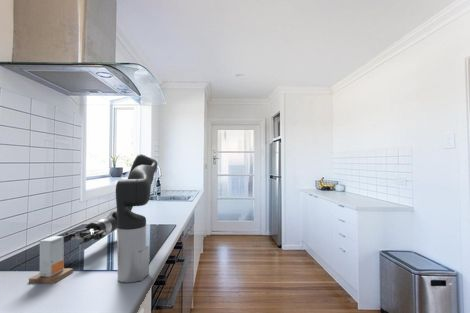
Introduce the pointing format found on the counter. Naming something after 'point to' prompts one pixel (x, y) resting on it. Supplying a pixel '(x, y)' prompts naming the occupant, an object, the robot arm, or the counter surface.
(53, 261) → the skincare box
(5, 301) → the counter surface
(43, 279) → the plate
